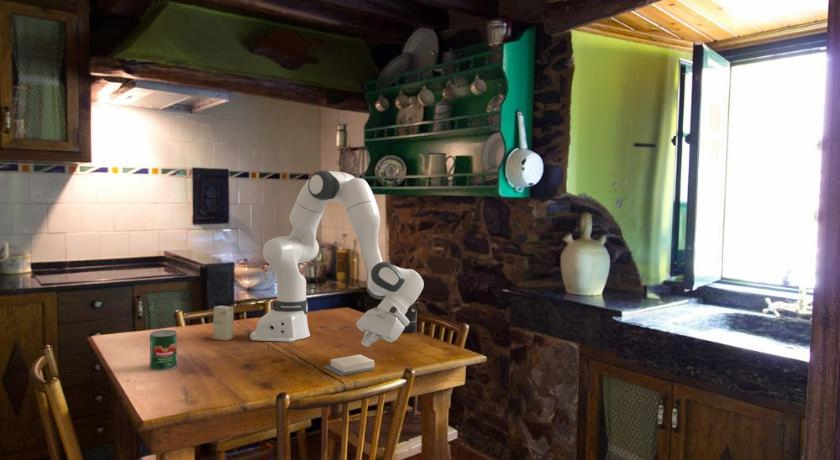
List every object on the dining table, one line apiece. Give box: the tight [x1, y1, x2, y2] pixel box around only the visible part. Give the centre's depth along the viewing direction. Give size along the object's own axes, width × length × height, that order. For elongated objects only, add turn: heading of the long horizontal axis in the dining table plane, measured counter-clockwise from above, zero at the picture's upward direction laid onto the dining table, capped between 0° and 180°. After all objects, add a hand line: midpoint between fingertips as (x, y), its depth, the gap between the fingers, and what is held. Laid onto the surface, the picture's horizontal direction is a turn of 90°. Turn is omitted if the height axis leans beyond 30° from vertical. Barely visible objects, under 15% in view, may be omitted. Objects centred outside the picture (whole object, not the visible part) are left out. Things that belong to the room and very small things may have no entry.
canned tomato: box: [149, 329, 178, 372], centre depth 189 cm, size 8×8×11 cm
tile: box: [330, 354, 376, 373], centre depth 192 cm, size 2×9×11 cm
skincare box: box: [212, 305, 234, 341], centre depth 226 cm, size 6×4×12 cm
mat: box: [323, 364, 375, 377], centre depth 191 cm, size 12×11×1 cm
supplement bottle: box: [402, 301, 418, 334], centre depth 243 cm, size 7×7×12 cm
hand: (364, 345), depth 194 cm, fingers closed
